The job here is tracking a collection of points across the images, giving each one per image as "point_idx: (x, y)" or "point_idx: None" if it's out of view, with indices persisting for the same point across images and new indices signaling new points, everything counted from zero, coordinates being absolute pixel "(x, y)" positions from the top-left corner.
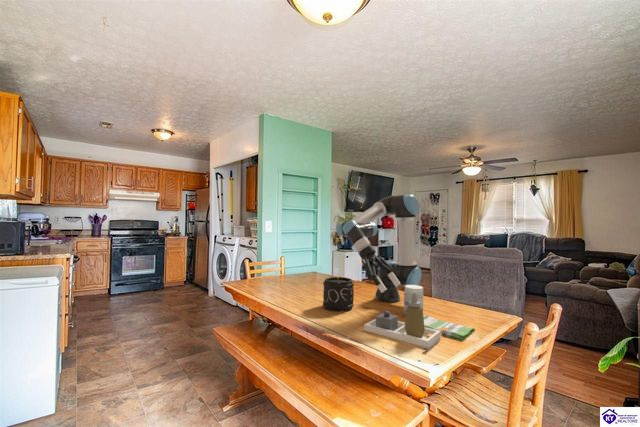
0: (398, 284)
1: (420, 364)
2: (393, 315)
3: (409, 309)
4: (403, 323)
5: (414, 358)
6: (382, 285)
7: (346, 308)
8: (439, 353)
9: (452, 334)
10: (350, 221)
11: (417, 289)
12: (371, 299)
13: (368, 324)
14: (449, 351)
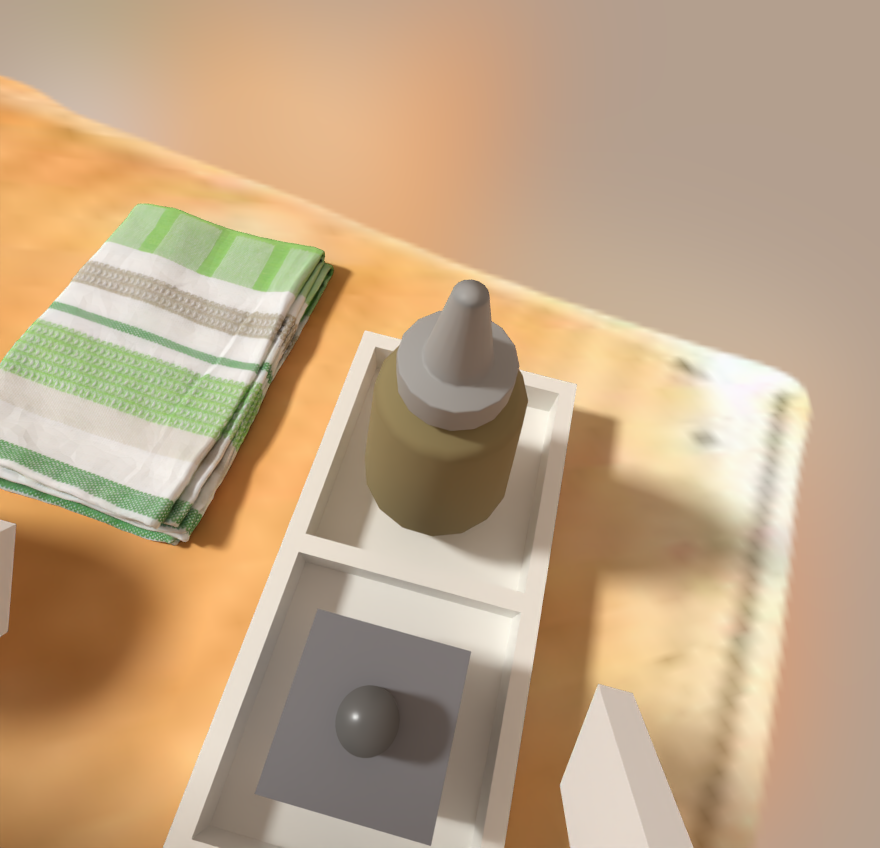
0: (8, 561)
1: (740, 429)
2: (322, 653)
3: (517, 428)
4: (290, 575)
5: (696, 461)
6: (665, 795)
7: None
8: (562, 360)
9: (307, 294)
10: None
11: None
12: None
13: None
14: (510, 322)
